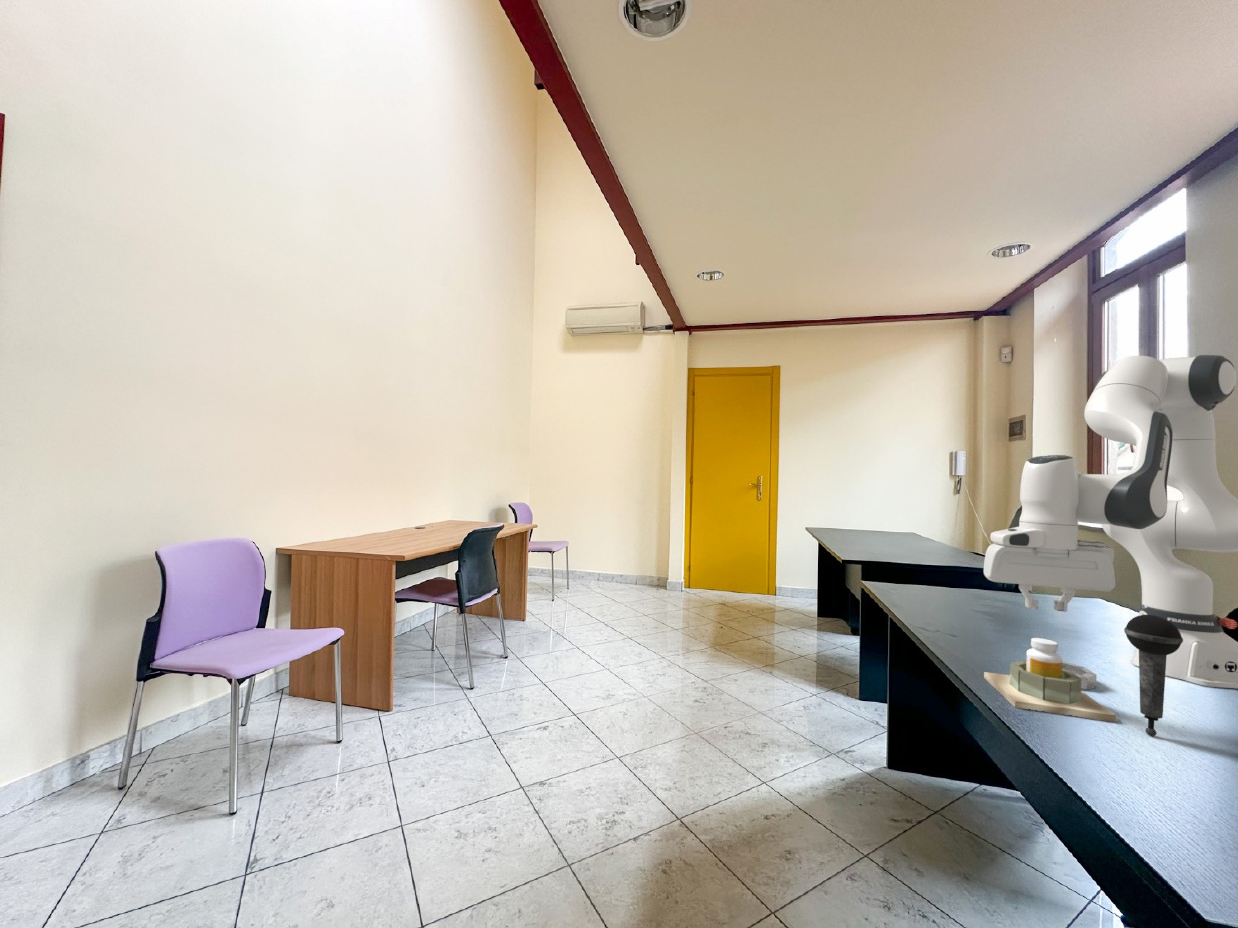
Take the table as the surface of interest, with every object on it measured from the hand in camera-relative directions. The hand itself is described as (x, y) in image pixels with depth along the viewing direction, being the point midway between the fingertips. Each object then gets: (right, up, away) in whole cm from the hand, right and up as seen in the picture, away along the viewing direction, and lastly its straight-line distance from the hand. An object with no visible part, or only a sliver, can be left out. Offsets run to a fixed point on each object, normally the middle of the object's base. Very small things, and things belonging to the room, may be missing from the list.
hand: (1045, 609), depth 100 cm
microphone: (+6, -17, -14) cm, 23 cm away
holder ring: (+11, -18, +10) cm, 23 cm away
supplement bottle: (-1, -16, 0) cm, 16 cm away
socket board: (-1, -17, 0) cm, 17 cm away
